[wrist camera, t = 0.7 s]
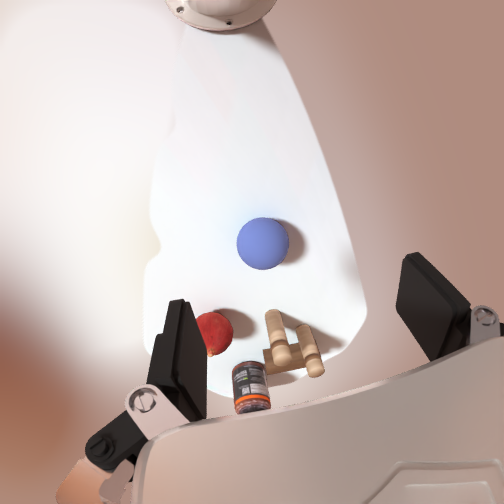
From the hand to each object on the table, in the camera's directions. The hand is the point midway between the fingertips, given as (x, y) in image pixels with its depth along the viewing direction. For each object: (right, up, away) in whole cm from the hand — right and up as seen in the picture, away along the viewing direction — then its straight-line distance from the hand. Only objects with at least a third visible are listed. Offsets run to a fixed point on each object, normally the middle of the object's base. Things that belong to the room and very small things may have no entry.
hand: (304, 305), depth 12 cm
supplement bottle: (-3, -19, +38) cm, 42 cm away
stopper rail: (+4, -14, +36) cm, 39 cm away
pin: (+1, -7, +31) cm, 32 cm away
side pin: (+6, -10, +34) cm, 36 cm away
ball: (-1, +3, +22) cm, 22 cm away
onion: (-8, -7, +31) cm, 32 cm away
